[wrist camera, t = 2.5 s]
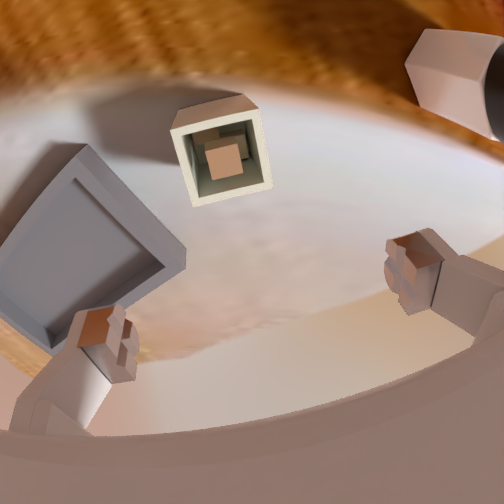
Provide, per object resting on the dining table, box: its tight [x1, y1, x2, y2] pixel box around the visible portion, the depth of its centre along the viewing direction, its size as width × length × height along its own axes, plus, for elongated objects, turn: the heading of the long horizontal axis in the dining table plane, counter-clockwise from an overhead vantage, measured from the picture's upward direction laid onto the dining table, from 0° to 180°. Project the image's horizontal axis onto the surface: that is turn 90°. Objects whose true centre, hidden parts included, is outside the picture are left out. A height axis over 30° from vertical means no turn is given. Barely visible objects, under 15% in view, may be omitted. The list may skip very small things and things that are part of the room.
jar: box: [404, 29, 504, 144], centre depth 17 cm, size 9×8×12 cm
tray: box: [0, 144, 186, 357], centre depth 27 cm, size 13×22×3 cm, turn 123°
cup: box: [170, 94, 273, 207], centre depth 20 cm, size 5×5×8 cm
